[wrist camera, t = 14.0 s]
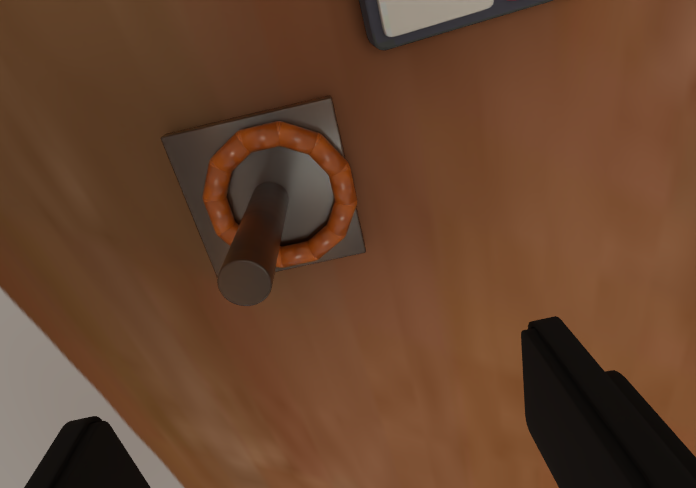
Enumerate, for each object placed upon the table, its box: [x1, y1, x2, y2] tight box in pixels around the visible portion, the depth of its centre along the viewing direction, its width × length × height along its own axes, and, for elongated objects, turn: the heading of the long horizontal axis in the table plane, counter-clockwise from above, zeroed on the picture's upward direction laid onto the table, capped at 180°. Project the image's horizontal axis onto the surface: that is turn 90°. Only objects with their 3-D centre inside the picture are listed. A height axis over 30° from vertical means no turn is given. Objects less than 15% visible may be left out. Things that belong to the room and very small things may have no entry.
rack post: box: [161, 95, 366, 306], centre depth 21 cm, size 9×9×10 cm
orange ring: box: [203, 121, 357, 268], centre depth 24 cm, size 8×8×1 cm
